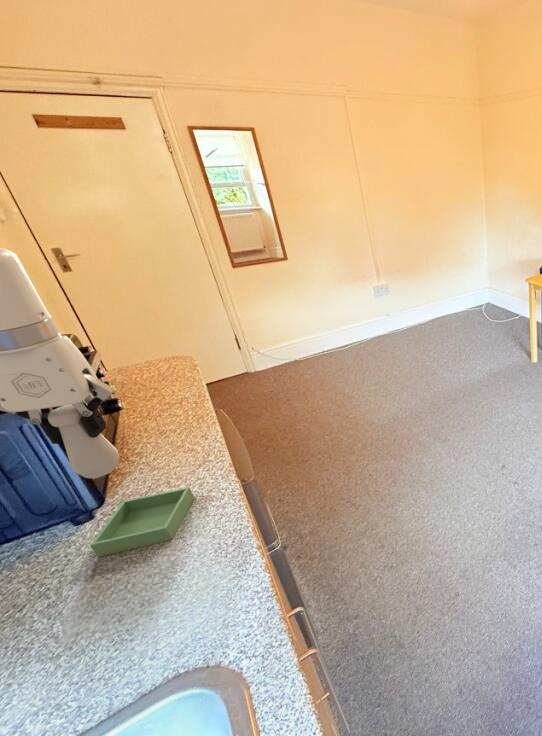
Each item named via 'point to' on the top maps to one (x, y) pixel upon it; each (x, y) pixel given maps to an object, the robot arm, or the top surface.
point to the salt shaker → (83, 444)
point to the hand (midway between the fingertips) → (80, 434)
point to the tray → (143, 521)
